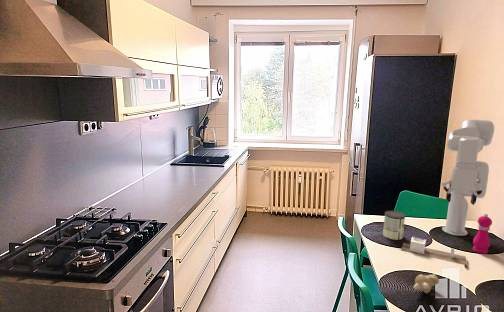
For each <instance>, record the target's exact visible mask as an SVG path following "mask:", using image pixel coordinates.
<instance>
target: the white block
mask: <svg viewBox="0 0 504 312" xmlns="http://www.w3.org/2000/svg"><path fill="white" fill-rule="evenodd" d="M410 239H411V240H410V243H409V244H410V251H413V252H417V253H422V254H424V250H425V248H426V242H427V239H425V238H420V237H415V236H412V237H411V238H410Z"/></svg>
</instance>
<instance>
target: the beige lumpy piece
mask: <svg viewBox="0 0 504 312" xmlns="http://www.w3.org/2000/svg"><path fill="white" fill-rule="evenodd" d="M439 282H440V280H439V278H438V276H437V274H436V273H432V274H428V275H424V274H418V275H417V276H416V277H415V278H414V285H413V289H414V290H420V291H422V292H423V293H425V294H428V293H430V291H431V290H432V287H434V286H435V285H438V284H439Z"/></svg>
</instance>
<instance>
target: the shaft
mask: <svg viewBox="0 0 504 312" xmlns="http://www.w3.org/2000/svg"><path fill="white" fill-rule="evenodd" d="M450 253H451V254H450V259H453V257H454V254H455V248H452V247H451V249H450Z"/></svg>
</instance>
